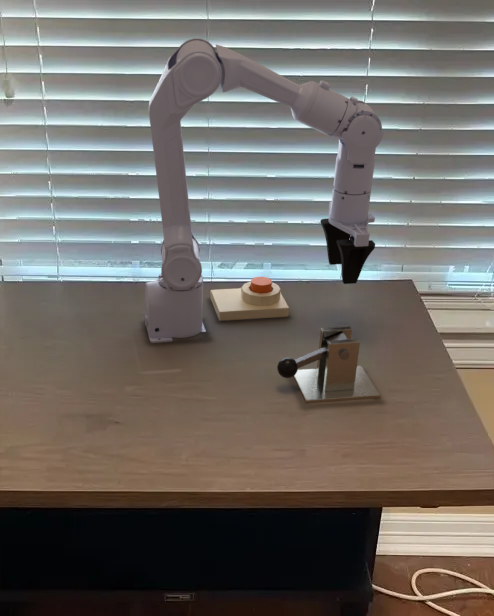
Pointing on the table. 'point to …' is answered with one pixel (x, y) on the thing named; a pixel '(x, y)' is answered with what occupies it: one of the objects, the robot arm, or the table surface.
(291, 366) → the lever
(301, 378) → the bracket
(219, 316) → the control block
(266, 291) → the button
